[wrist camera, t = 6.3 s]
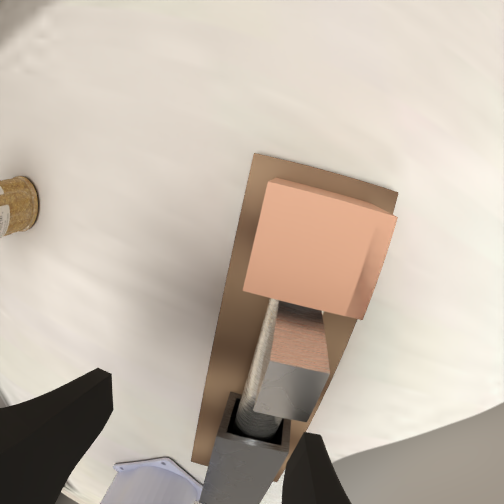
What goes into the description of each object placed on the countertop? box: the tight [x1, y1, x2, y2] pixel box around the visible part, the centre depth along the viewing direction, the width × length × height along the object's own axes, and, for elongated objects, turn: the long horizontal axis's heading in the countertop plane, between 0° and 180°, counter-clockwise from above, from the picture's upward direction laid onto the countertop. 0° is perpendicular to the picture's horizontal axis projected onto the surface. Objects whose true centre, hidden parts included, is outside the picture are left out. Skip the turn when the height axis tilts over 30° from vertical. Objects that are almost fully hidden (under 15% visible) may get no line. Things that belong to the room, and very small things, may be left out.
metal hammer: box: [231, 298, 330, 443], centre depth 14 cm, size 14×3×8 cm, turn 167°
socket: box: [243, 178, 398, 320], centre depth 14 cm, size 4×5×5 cm
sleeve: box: [199, 391, 291, 504], centre depth 19 cm, size 10×4×4 cm, turn 167°
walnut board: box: [191, 153, 398, 482], centre depth 20 cm, size 26×8×1 cm, turn 167°
